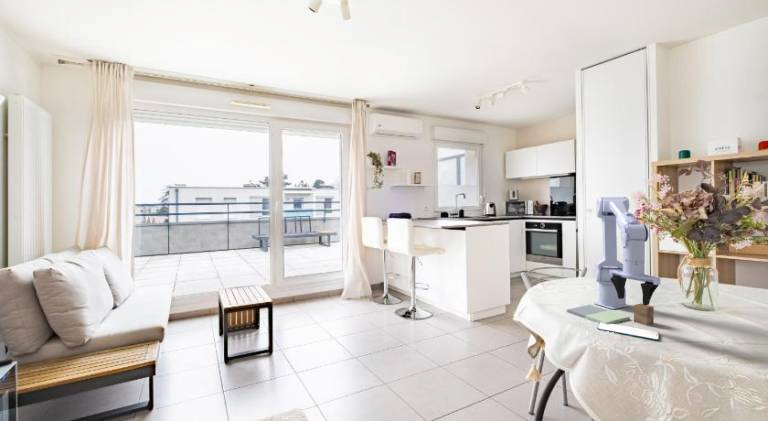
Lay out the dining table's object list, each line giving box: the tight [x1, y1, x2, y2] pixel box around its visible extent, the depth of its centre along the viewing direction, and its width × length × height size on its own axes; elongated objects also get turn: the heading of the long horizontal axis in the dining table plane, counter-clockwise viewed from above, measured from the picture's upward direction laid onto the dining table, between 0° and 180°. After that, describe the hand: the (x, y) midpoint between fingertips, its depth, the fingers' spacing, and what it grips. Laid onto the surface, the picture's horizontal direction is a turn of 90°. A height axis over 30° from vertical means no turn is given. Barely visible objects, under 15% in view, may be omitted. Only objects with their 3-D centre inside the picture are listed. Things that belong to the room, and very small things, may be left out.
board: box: [566, 304, 630, 324], centre depth 125 cm, size 13×15×1 cm
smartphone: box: [597, 323, 660, 342], centre depth 111 cm, size 8×1×16 cm
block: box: [633, 303, 655, 326], centre depth 118 cm, size 4×4×6 cm
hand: (633, 301), depth 112 cm, fingers open, 7 cm apart
